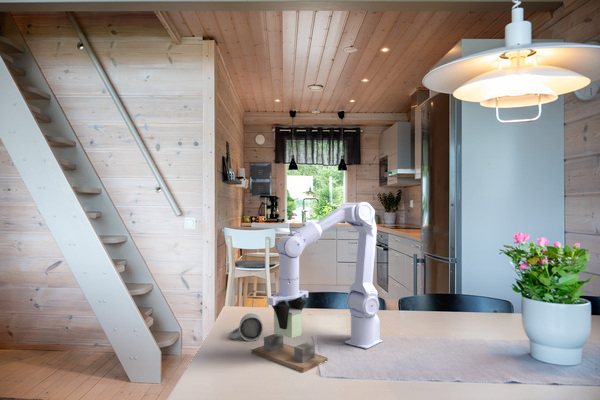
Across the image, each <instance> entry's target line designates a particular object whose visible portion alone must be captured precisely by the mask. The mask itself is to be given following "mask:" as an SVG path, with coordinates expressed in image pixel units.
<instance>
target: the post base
mask: <svg viewBox="0 0 600 400" xmlns="http://www.w3.org/2000/svg"><path fill="white" fill-rule="evenodd" d="M315 350H316V346H315V344H314V343H310V342H304V343H300V344H299V345H295V346H293V345H289V344H286V343H284V336H283V335H279V334H276V333H273V334H270V335H267V336H264V337H263V345H261V346H258V347H256V348H252V349H251V354H252V355H256V356H259V357H261V358H263V359H264V358H265V359H267V360H268V361H269V360H270V361H272V362H275V363H278V364H280V365H283V366H285V367H288V368H291V369H294V370H296V371H299V372H301V373H304V372H307V371H309V370H311V369H313V368H315V367H319V366H320V365H321V364H320V363H323V362H325V361H327V362H328V357H327V356H324V355H320V354H318V353H315V352H316V351H315ZM325 363H326V362H325ZM319 364H320V365H319ZM323 364H324V363H323Z"/></svg>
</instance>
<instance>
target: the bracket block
mask: <svg viewBox="0 0 600 400" xmlns="http://www.w3.org/2000/svg"><path fill="white" fill-rule="evenodd" d="M302 312H303V309H302V310H298V309H293V308H290V309H289V313H288V321H287V329H281V328H280V327H279V322H278V318H277V315H276V313H275V311H274V310H273V334H279V335H283V337H286V338H290V339H293V338H297V337H299V336H302V335H303V334H302V330H303V329H302V328H303V327H302V325H303V323H302V322H303V320H302V319H303V318H302V314H303V313H302Z"/></svg>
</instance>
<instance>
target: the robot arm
mask: <svg viewBox="0 0 600 400" xmlns="http://www.w3.org/2000/svg"><path fill="white" fill-rule="evenodd" d="M375 213H376V210H375V208H373V206H372V205H371V204H370V203H369V202H366V201H361V202H345V203H343V204H342V205H339V206H337V207H336V208H335V209H333V210H332V211H330V212H329V213H328V214H326V216H324V217H322V218H321V219H319V220H318V221H316V222H312V221H309V222H307V221H304V223H302V226H301V227H299V228H297V229H296V230H291V231H290V232H289V235H283V236H281V237H280V238H278V241H277V243H276V245H275V250H276V252H277V254H278V255H279V256H278V257H279V258H278V259H279V260H278V261H279V262H278V267H279V268H278V282H279V283H278V292H276V294H275V295H271V296H268V297H267V305H269V306H271V308H273V312H274V311H275V313H276V315H277V318H278V322H279V327H280V328H281V329H287V321H288V313H289V309H290V308H293V309H298V310H302V311H303V309H304V307H305V305H306V300H305V299H306V298H309V290H305V289H301V290H300V256H301V255H302V253H303V251H304V249H306V248H307V247H309V246H311V245H312V244H314V243H315V242H316V241H318V240H320V239H321V236H322V233H324V232H325V231H327V230H329V229H331V228H332V227H335V225H338V224H339V223H342V222H345V223H347V224H348V225H350V226H352V227H353V228H354V229H355V231H356V232H357V233H358V240H357V242H358V243H357V253H356V263H355V264H356V265H355V274H354V276H355V278H354V282H353V283H352V285H350V286H349V291H348V294H347V296H346V301H345V302H346V305H347V307H348V309H349V312H350V338H349V339H347V340H345V341H344V343H345V344H348V345H351V346H353V347H354V346H355V347H358V348H360V349H361V348H362V349H369V348H371V347H374V346H376V345H379V344H381V343H382V342H383V340H382V339H381V338H380V337H381V336H380V333H381V330H380V327H381V324H380V322H381V321H380V318H379V315H377V313H378V311H379V308H380V302H379V298H378V295H379V293H378V290H377V289H376V288H375V285H374V284H373V280H374V269H375V267H374V266H375V257H376V256H375V255H376V243H377V233H378V231H377V230H378V228H377V223H376V219H375V216H376V215H375ZM303 298H305V299H303Z"/></svg>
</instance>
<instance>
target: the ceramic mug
mask: <svg viewBox="0 0 600 400" xmlns="http://www.w3.org/2000/svg"><path fill="white" fill-rule="evenodd" d="M263 331H264V325H263V321H262V319H261V318H260V316H259V315H258V314H256V313H252V312H251V313H246V314H245V315H243V316H242V318H241V319H240V322H239V326H238V327H237V328H235V329H233V330H231V332H230V333H229V334H228V335H229V337H230V339H231V340H234V339H237V338H239V337H241V338H242V340H244V341H247V342H255V341H257V340H258V339H259V338H260V337H261V336H262V334H263Z"/></svg>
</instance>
